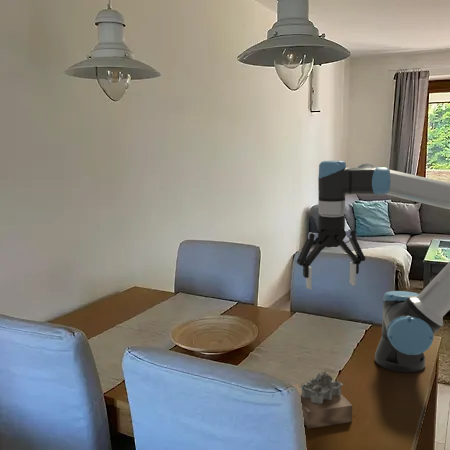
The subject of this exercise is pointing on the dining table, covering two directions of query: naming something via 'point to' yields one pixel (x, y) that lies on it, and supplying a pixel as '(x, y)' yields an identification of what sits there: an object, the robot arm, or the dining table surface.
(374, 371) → the dining table surface
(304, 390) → the egg carton
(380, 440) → the dining table surface
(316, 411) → the tan flat block
